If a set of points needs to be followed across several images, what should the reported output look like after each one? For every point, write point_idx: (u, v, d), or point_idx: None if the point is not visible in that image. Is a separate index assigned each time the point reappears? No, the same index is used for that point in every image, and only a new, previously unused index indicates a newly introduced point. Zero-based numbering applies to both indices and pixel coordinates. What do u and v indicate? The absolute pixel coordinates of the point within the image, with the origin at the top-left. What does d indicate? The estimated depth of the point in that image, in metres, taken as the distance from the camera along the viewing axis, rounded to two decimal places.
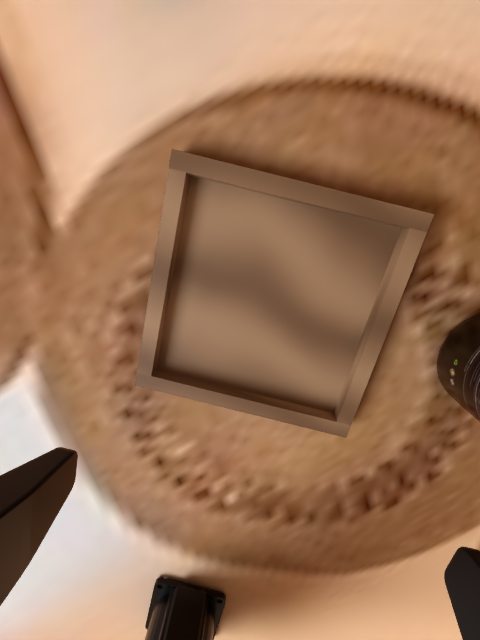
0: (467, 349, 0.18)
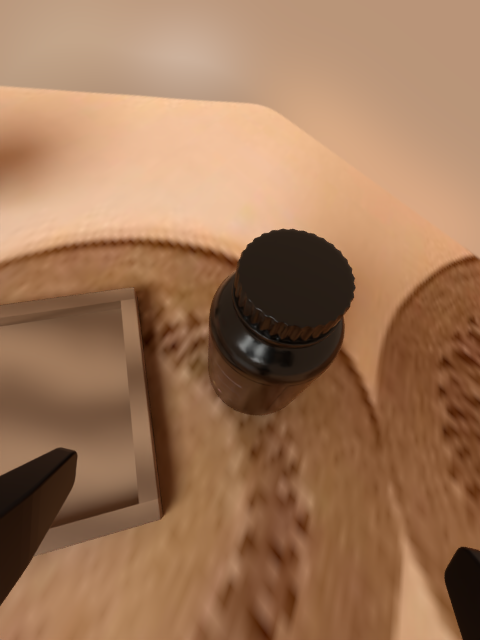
0: None
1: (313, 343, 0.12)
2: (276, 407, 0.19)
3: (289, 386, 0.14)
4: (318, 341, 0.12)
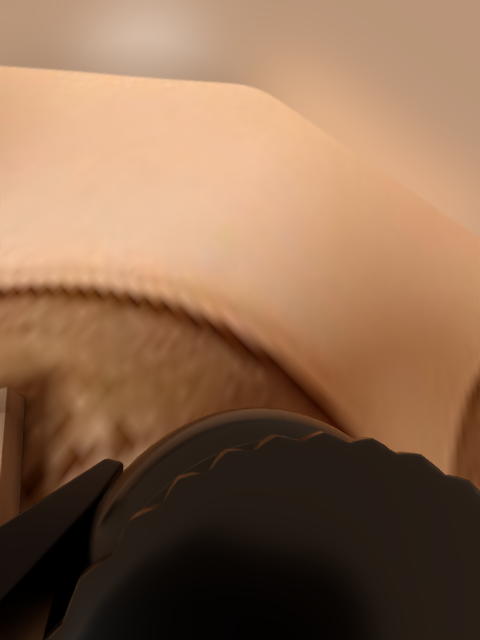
0: None
1: None
2: None
3: None
4: None
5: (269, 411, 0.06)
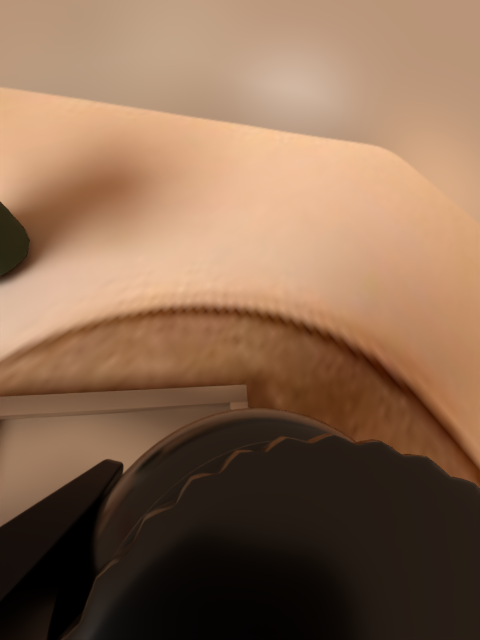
0: None
1: None
2: None
3: None
4: None
5: (270, 411, 0.06)
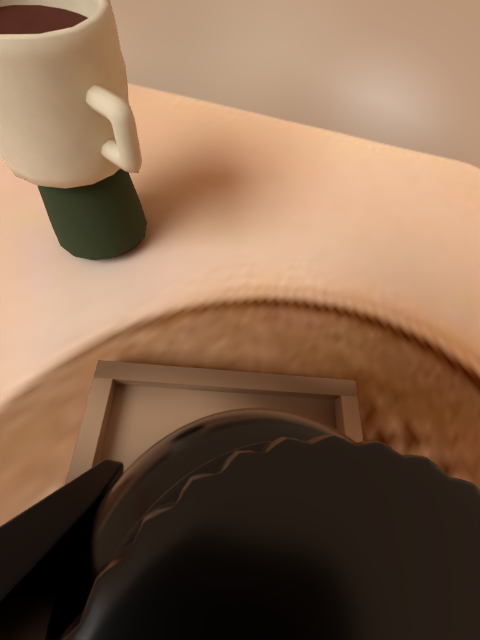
0: None
1: None
2: None
3: None
4: None
5: (270, 411, 0.06)
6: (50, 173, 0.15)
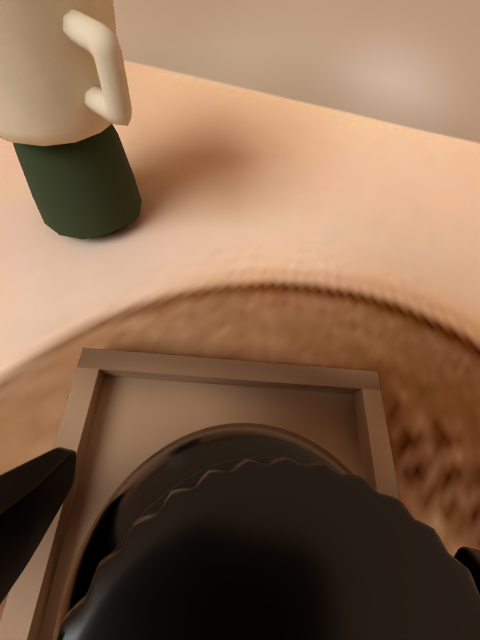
0: None
1: None
2: None
3: None
4: None
5: (255, 427, 0.07)
6: (24, 125, 0.13)
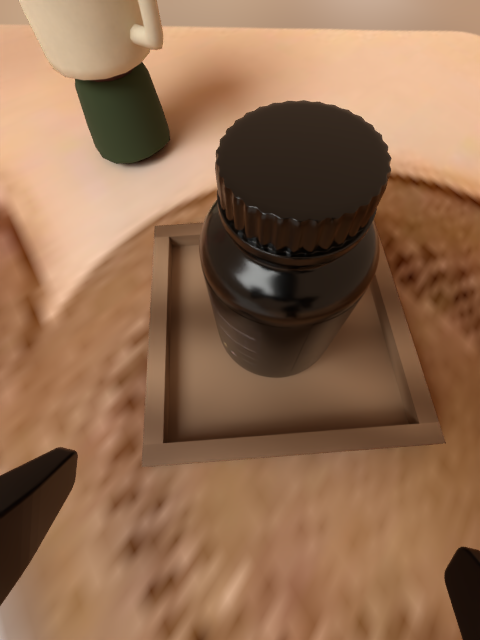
0: None
1: (339, 252, 0.09)
2: (304, 363, 0.15)
3: (315, 325, 0.11)
4: (346, 248, 0.09)
5: None
6: (94, 62, 0.18)
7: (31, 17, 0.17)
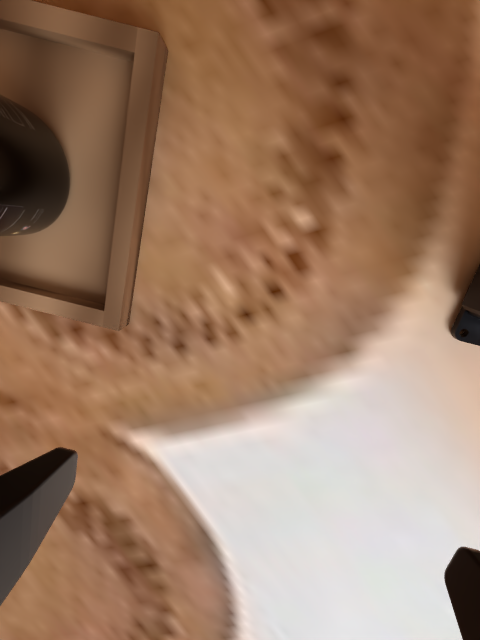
0: None
1: None
2: (40, 157, 0.15)
3: None
4: None
5: None
6: None
7: None
